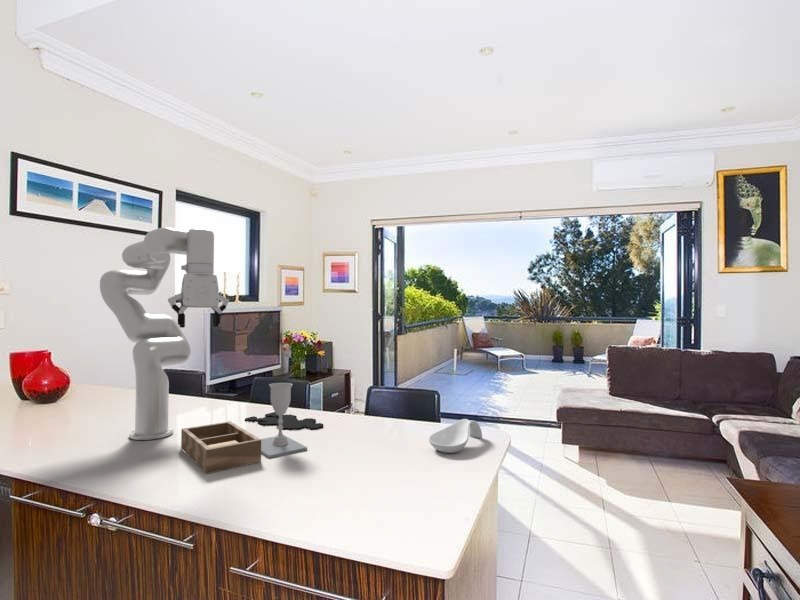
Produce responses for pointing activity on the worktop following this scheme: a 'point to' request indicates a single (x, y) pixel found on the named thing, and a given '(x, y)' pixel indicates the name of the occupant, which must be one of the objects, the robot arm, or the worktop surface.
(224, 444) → the oak offcut top
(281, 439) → the chalice
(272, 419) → the black silhouette cutout
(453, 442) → the spoon rest
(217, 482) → the worktop surface
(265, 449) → the slate mat
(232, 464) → the walnut crate
